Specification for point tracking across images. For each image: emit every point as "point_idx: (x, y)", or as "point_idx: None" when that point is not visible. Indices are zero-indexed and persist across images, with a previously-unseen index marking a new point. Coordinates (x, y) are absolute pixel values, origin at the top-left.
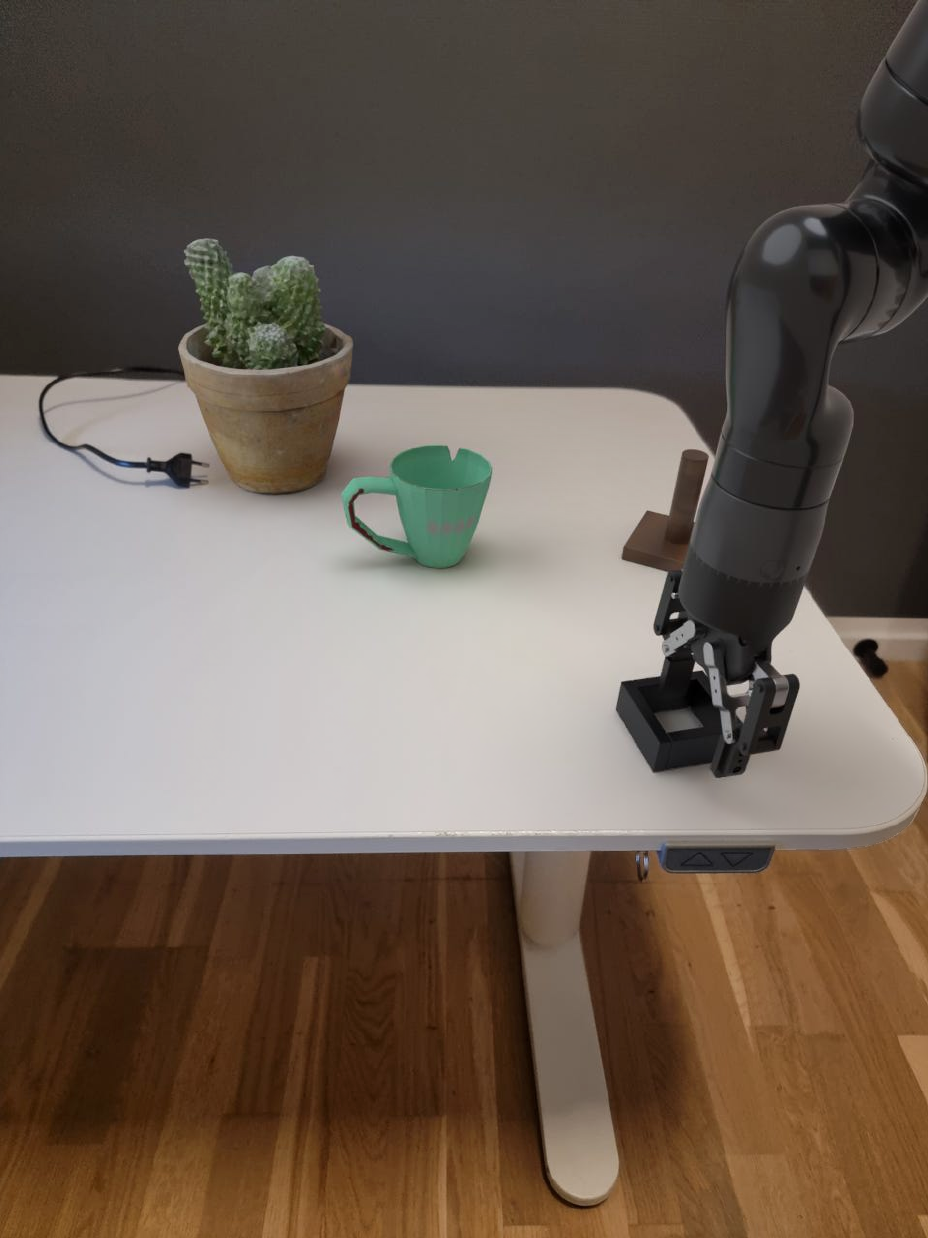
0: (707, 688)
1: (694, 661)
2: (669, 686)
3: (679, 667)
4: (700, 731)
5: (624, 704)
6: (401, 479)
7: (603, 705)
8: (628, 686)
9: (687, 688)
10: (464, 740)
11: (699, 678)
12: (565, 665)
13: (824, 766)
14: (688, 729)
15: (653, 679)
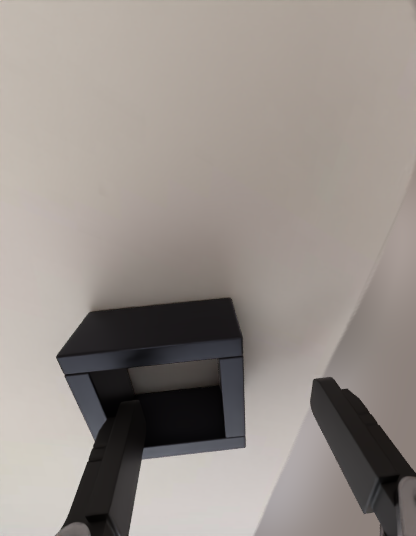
0: (119, 366)
1: (111, 504)
2: (139, 451)
3: (125, 507)
4: (233, 403)
5: None
6: None
7: None
8: None
9: (133, 413)
10: (167, 505)
11: (86, 370)
12: (34, 436)
13: (278, 159)
14: (225, 416)
15: (96, 429)
